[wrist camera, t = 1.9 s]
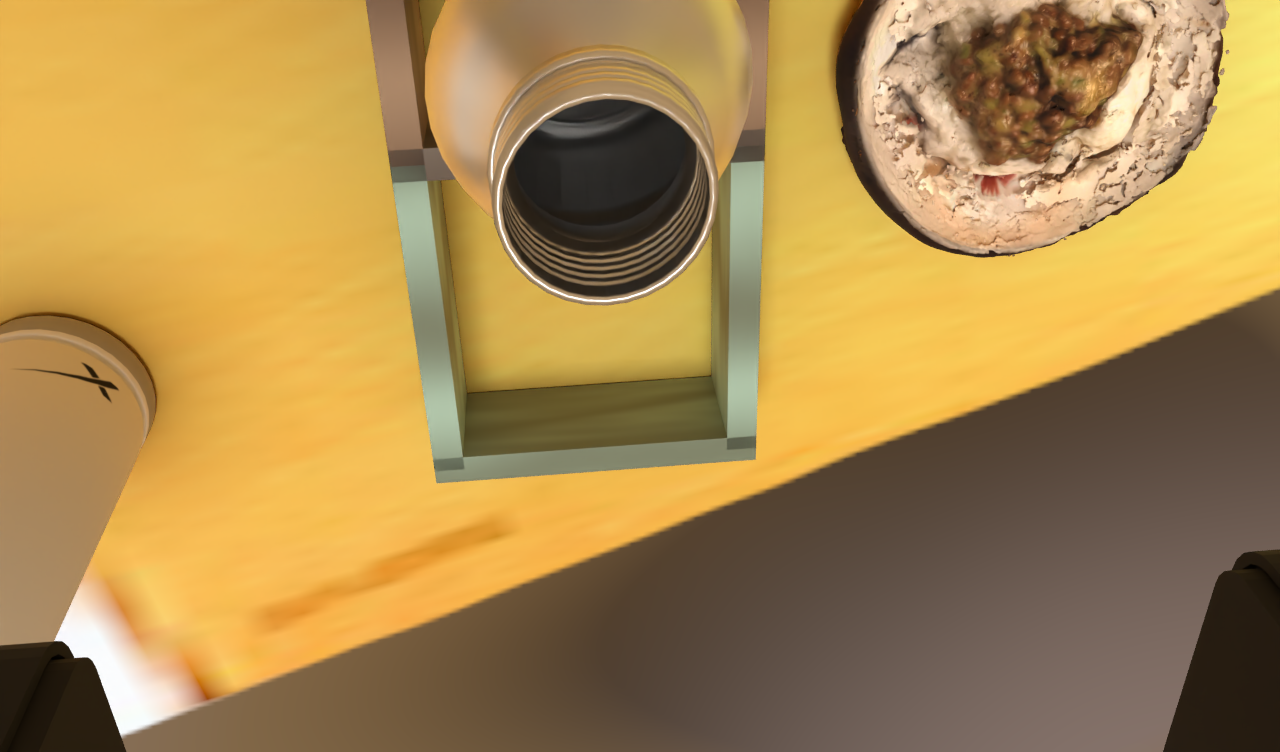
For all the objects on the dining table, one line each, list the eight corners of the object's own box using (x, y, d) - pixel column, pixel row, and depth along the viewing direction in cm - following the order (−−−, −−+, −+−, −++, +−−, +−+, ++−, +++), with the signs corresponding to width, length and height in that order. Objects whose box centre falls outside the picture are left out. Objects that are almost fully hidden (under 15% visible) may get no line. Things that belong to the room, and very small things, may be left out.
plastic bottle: (424, -2, 36) (344, 321, 19) (496, -233, 33) (477, -86, 16) (620, 73, 38) (704, 429, 21) (707, -140, 35) (887, 78, 18)
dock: (344, -294, 32) (324, -284, 29) (750, -308, 33) (777, -300, 29) (442, 417, 44) (436, 483, 41) (737, 397, 45) (755, 459, 42)
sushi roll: (831, 311, 44) (858, 370, 40) (752, -107, 36) (778, -79, 33) (1233, 207, 43) (1296, 258, 40) (1242, -245, 35) (1322, -231, 32)
